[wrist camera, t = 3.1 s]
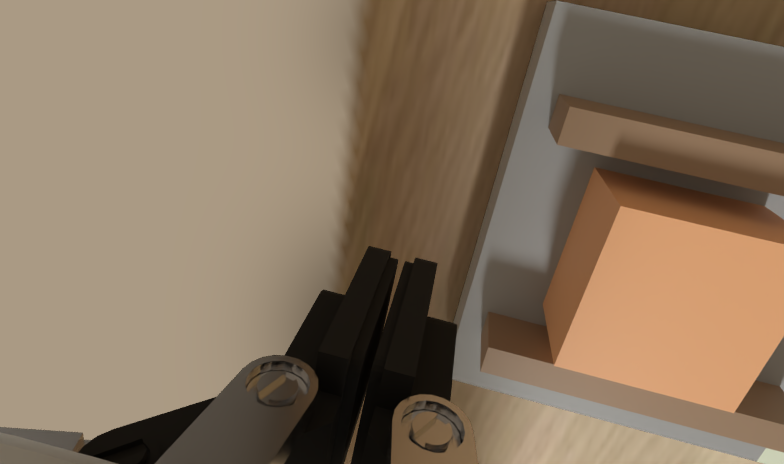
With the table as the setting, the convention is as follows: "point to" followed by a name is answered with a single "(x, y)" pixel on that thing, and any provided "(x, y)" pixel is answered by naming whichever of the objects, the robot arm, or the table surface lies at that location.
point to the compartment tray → (632, 157)
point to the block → (668, 290)
